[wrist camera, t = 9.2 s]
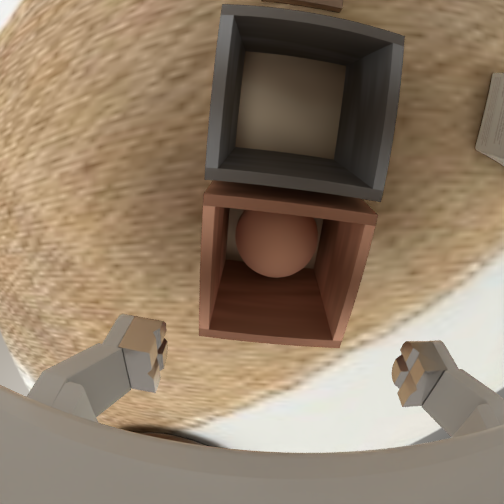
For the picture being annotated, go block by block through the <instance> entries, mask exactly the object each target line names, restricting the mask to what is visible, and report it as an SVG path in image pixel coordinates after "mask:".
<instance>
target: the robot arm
mask: <svg viewBox="0 0 504 504" xmlns="http://www.w3.org/2000/svg"><path fill="white" fill-rule="evenodd" d="M165 334H166V323H165V322H164V321H160V320H154V319H149V318H143V317H138V316H132V315H127V314H121V315H119V317H118V318H117V320H116V322H115V323H114V325H113V326H112V328H111V330H110V331H109V333H108V335H107V337H106V338H105V340H104V342H103V343H102V344H100V343H98V344H96V345H94V346H92V347H90V348H88V349H86V350H84V351H82V352H80V353H78V354H76V355H74V356H72V357H70V358H68V359H66V360H64V361H62V362H60V363H58V364H56V365H54V366H52V367H50V368H48V369H46V370H44V371H43V372H42V373H41V375H40V377H39V378H38V380H37V381H36V383H35V384H34V386H33V387H32V389H31V391H30V392H29V394H28V396H27V397H26V396H23V395H21V394H19V393H17V392H14V391H12V390H10V389H8V388H6V387H3V386H1V385H0V504H504V399H503V398H502V397H501V396H499V395H498V394H496V393H495V392H494V391H492V390H491V389H489V388H488V387H487V386H485V385H484V384H482V383H481V382H479V381H478V380H477V379H475V378H474V377H472V376H471V375H470V374H468V373H467V372H465V371H464V370H462V369H458V367H457V365H456V363H455V362H454V360H453V358H452V357H451V355H450V353H449V351H448V350H447V348H446V346H445V345H444V343H443V342H442V341H406V342H405V343H404V344H403V346H402V348H401V354H402V355H400V356H399V357H398V358H397V359H396V360H395V362H394V364H393V367H392V379H393V382H394V384H395V385H396V386H397V387H398V388H399V391H398V396H399V399H400V401H401V404H402V407H410V406H422V408H423V409H424V410H425V411H426V412H427V413H428V414H429V415H430V416H431V417H432V418H433V419H434V420H435V421H436V422H437V423H438V424H439V425H440V426H441V427H442V428H443V429H444V430H445V431H446V432H447V433H448V435H449V436H450V437H451V438H449V439H444V440H439V441H433V442H428V443H422V444H416V445H410V446H403V447H395V448H387V449H378V450H367V451H354V452H334V453H281V452H261V451H247V450H236V449H226V448H218V447H210V446H203V445H196V444H190V443H183V442H178V441H172V440H167V439H162V438H157V437H152V436H148V435H143V434H139V433H135V432H130V431H126V430H123V429H119V428H115V427H111V426H108V425H104V424H101V423H98V421H97V419H96V417H97V416H98V415H100V414H101V413H102V412H103V411H105V410H106V409H107V408H108V407H110V406H111V405H112V404H113V403H115V402H116V401H117V400H119V399H120V398H121V397H122V396H124V395H125V394H126V393H127V392H129V391H130V390H131V388H132V389H137V390H143V391H148V392H154V393H156V390H157V387H158V384H159V381H160V378H161V377H160V370H162V369H164V366H165V363H166V359H167V350H168V345H167V341H166V339H165V338H164V336H165Z"/></svg>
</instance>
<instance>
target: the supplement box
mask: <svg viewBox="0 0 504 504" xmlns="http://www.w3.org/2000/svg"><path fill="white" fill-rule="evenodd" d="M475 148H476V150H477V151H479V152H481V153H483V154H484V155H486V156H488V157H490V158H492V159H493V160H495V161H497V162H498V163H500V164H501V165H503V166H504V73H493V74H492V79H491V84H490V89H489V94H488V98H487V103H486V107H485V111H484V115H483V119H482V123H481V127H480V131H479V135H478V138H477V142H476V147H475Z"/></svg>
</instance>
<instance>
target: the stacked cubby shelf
mask: <svg viewBox="0 0 504 504" xmlns="http://www.w3.org/2000/svg"><path fill="white" fill-rule="evenodd" d="M404 38H405V36H402V35H399V34H396V33H393V32H390V31H387V30H383V29H380V28H376V27H373V26H369V25H365V24H362V23H358V22H354V21H349V20H345V19H341V18H336V17H331V16H326V15H321V14H315V13H309V12H303V11H297V10H289V9H281V8H273V7H262V6H250V5H230V4H222V10H221V17H220V25H219V32H218V40H217V48H216V57H215V66H214V75H213V84H212V94H211V104H210V115H209V127H208V139H207V152H206V165H205V180H212V183H211V184H210V186H209V187H208V188H207V190H206V191H205V193H204V197H203V215H202V236H201V262H200V299H199V336H205V337H213V338H221V339H230V340H239V341H249V342H259V343H270V344H282V345H295V346H310V347H328V348H340V345H341V342H342V339H343V336H344V333H345V330H346V327H347V324H348V321H349V318H350V315H351V312H352V309H353V305H354V302H355V299H356V296H357V292H358V289H359V286H360V282H361V279H362V275H363V272H364V268H365V265H366V261H367V257H368V254H369V250H370V246H371V242H372V238H373V234H374V230H375V226H376V222H377V217H378V215H377V214H376V213H375V212H374V211H373V210H372V209H371V208H370V207H369V206H368V205H367V204H366V203H365V202H364V201H363V200H362V199H366V200H372V201H378V202H381V200H382V195H383V190H384V186H385V181H386V176H387V170H388V165H389V160H390V154H391V148H392V142H393V136H394V130H395V123H396V116H397V109H398V102H399V93H400V85H401V75H402V65H403V53H404ZM244 210H253V211H263V212H271V213H280V214H288V215H297V216H305V217H313V218H314V220H315V222H316V226H317V231H318V242H317V247H316V250H315V253H314V255H313V257H312V258H311V260H310V261H309V263H308V264H307V265H306V266H305V267H304V268H302V269H301V270H300V271H298V272H296V273H295V274H292V275H290V276H286V277H279V278H274V277H267V276H264V275H261V274H259V273H257V272H255V271H254V270H252V269H251V268H250V267H249V266H248V265H246V263H245V262H244V261H243V259H242V258H241V256H240V254H239V252H238V249H237V246H236V240H235V232H236V226H237V223H238V220H239V218H240V216H241V215H242V213H243V211H244Z"/></svg>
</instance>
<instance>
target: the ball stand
mask: <svg viewBox="0 0 504 504" xmlns="http://www.w3.org/2000/svg"><path fill="white" fill-rule="evenodd" d="M262 1H269V2H278V3H286V4H294V5H301V6H307V7H313V8H319V9H324V10H329V11H334V12H340V11H341V9H342V5H343V0H262Z"/></svg>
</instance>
